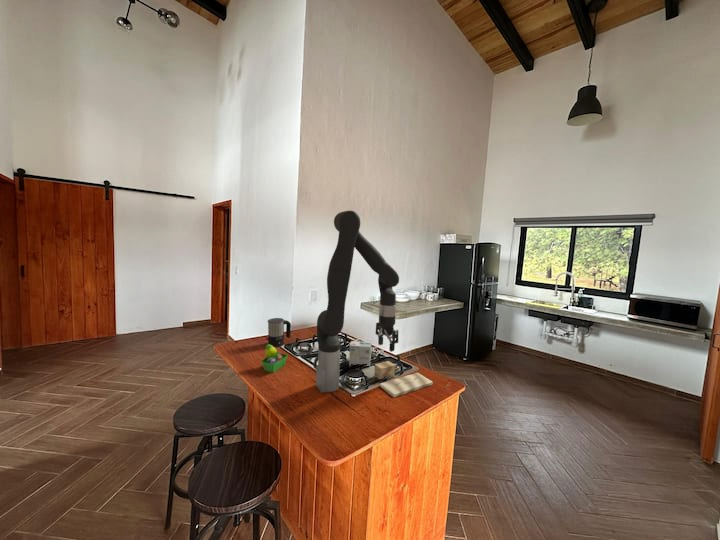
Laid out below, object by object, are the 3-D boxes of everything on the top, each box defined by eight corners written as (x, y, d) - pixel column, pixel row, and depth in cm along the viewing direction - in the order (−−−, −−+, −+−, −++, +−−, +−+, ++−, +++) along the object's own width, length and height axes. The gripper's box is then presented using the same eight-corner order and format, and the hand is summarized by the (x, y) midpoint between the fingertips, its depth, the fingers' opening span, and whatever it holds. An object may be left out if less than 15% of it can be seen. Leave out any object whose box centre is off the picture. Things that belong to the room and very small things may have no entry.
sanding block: (380, 381, 131) (381, 368, 130) (374, 376, 135) (374, 364, 134) (394, 377, 135) (395, 365, 134) (388, 372, 139) (388, 360, 139)
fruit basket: (273, 374, 134) (273, 351, 132) (258, 370, 137) (258, 347, 135) (288, 364, 144) (288, 342, 143) (273, 361, 147) (273, 339, 146)
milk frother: (275, 349, 163) (275, 323, 161) (256, 342, 171) (256, 318, 169) (293, 341, 175) (293, 317, 173) (274, 336, 183) (274, 313, 181)
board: (393, 397, 118) (394, 394, 118) (379, 386, 126) (379, 383, 126) (432, 384, 130) (432, 381, 129) (417, 374, 138) (417, 372, 138)
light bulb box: (370, 361, 151) (371, 341, 149) (369, 367, 144) (370, 346, 143) (350, 360, 152) (351, 340, 150) (348, 365, 145) (349, 345, 144)
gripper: (371, 311, 136) (370, 344, 138) (390, 319, 124) (388, 355, 126) (384, 309, 139) (383, 341, 141) (403, 316, 127) (402, 351, 129)
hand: (386, 347), depth 134 cm, fingers open, 8 cm apart
